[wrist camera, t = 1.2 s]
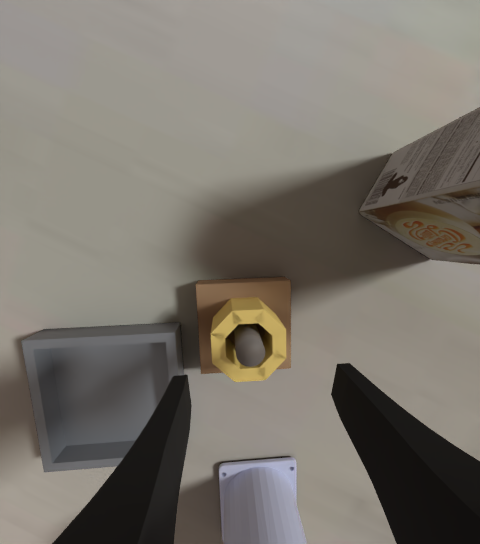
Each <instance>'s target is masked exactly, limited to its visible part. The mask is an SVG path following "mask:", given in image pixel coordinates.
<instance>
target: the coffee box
mask: <svg viewBox="0 0 480 544" xmlns="http://www.w3.org/2000/svg"><path fill="white" fill-rule="evenodd" d="M359 213H360V214H361V215H362V216H364V217H365V218H367V219H368V220H370V221H371V222H373V223H375V224H376V225H378V226H379V227H381V228H382V229H384V230H386V231H387V232H389V233H390V234H392V235H393V236H395V237H397V238H398V239H400V240H401V241H403V242H404V243H406V244H408V245H409V246H411V247H412V248H414V249H416V250H417V251H419V252H420V253H422V254H423V255H425V256H427V257H428V258H430V259H431V260H439V261H449V262H458V263H469V264H480V107H479V108H477V109H475V110H474V111H472V112H470V113H468V114H466V115H464V116H462V117H460V118H458V119H456V120H454V121H452V122H451V123H449V124H447V125H445V126H443V127H441V128H439V129H437V130H435V131H433V132H431V133H429V134H427V135H426V136H424V137H422V138H420V139H418V140H416V141H414V142H413V143H411V144H409V145H406V146H404V147H403V148H401V149H399V150H397V151H395V152H394V153H393V154H392V155H391V157H390V158H389V160H388V162H387V164H386V165H385V167H384V169H383V171H382V172H381V174H380V176H379V177H378V179H377V181H376V183H375V184H374V186H373V188H372V189H371V191H370V193H369V194H368V196H367V198H366V200H365V201H364V203H363V205H362V206H361V208H360V210H359Z"/></svg>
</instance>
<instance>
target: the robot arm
mask: <svg viewBox="0 0 480 544" xmlns="http://www.w3.org/2000/svg"><path fill="white" fill-rule="evenodd" d="M331 395H332V398H333V401H334V403H335V406H336V409H337V411H338V414H339V416H340V419H341V421H342V423H343V425H344V427H345V429H346V431H347V433H348V435H349V437H350V439H351V441H352V443H353V445H354V447H355V449H356V451H357V453H358V455H359V456H360V458H361V460H362V462H363V464H364V466H365V468H366V470H367V472H368V475H369V477H370V479H371V481H372V483H373V486H374V488H375V490H376V493H377V495H378V498H379V500H380V503H381V505H382V507H383V510H384V512H385V515H386V517H387V520H388V523H389V525H390V528H391V530H392V533H393V535H394V538H395V541H396V543H397V544H480V461H478V460H477V459H475V458H474V457H472V456H470V455H469V454H467V453H465V452H464V451H462V450H461V449H459V448H458V447H456V446H455V445H453V444H451V443H450V442H448V441H447V440H446V439H444V438H443V437H441V436H440V435H438V434H437V433H435V432H434V431H433V430H431V429H430V428H428V427H427V426H426V425H424V424H423V423H421V422H420V421H419V420H417V419H416V418H415V417H413V416H412V415H411V414H410V413H408V412H407V411H406V410H404V409H403V408H402V407H401V406H399V405H398V404H397V403H396V402H394V401H393V400H392V399H391V398H389V397H388V396H387V395H386V394H385V393H383V392H382V391H381V390H380V389H379V388H378V387H376V386H375V385H374V384H373V383H372V382H371V381H369V380H368V379H367V378H366V377H365V376H364V375H362V374H361V373H360V372H359V371H358V370H357V369H356V368H354V367H353V366H352V365H351V364H350V363H346V364H337V368H336V373H335V378H334V383H333V388H332V393H331ZM190 419H191V399H190V391H189V384H188V376H187V375H177V376H173V377H172V379H171V381H170V383H169V385H168V387H167V389H166V391H165V393H164V395H163V397H162V398H161V400H160V402H159V404H158V406H157V407H156V409H155V411H154V412H153V414H152V416H151V418H150V419H149V421H148V423H147V424H146V426H145V427H144V429H143V430H142V432H141V433H140V435H139V436H138V438H137V439H136V441H135V443H134V444H133V445H132V447H131V448H130V450H129V451H128V453H127V454H126V455H125V457H124V458H123V460H122V461H121V462H120V464H119V465H118V466H117V468H116V469H115V470H114V472H113V473H112V474H111V475H110V477H109V478H108V479H107V481H106V482H105V483H104V484H103V486H102V487H101V488H100V489H99V491H98V492H97V493H96V494H95V496H94V497H93V498H92V499H91V500H90V502H89V503H88V504H87V505H86V506H85V507H84V509H83V510H82V511H81V512H80V513H79V514H78V515H77V516H76V518H75V519H74V520H73V521H72V522H71V523H70V524H69V526H68V527H67V528H66V529H65V530H64V531H63V532H62V533H61V535H60V536H59V537H58V538H57V539H56V540H55V541H54V542H53V543H52V544H174V533H175V523H176V513H177V503H178V496H179V489H180V483H181V477H182V471H183V466H184V460H185V454H186V448H187V442H188V437H189V430H190ZM219 486H220V506H221V526H222V541H223V542H224V544H307V542H306V538H305V534H304V530H303V527H302V523H301V519H300V515H299V512H298V508H297V504H296V460H295V458H293V457H286V458H275V459H263V460H251V461H240V462H228V463H221V464H220V465H219Z"/></svg>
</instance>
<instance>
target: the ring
mask: <svg viewBox="0 0 480 544" xmlns="http://www.w3.org/2000/svg"><path fill="white" fill-rule="evenodd" d="M253 323H259V324H260V325H261V326H262V327H263V328H264V329H265V335H264V336H263V337H262V338H261V340H262V342H263V345H264V348H265V357H264V359H263V361H262V362H261V363H260V364H258V365H256V366H253V367H247V366H244V365H242V364H241V363H240V362H239V361H238V360H237V357H236V349H235V344H233V343H232V342H231V341H230V340H229V339H228V338H226V337H227V336H228V335H229V334H230V333H231V332H232V331H233V330H234V329H235V328H236V326H237V325H238V324H253ZM211 349H212V363H213V364H214V365H215V366H216V367H217V368H219V369H220V370H221V371H222V372H223V373H225V374H226V375H227V376H228V377H229V378H231V379H232V380H233V381H234V382H243V381H258V380H266V379H267V378H268V377H269V376H270V375H271V374H272V373H273V372H274V371H275V370H276V369H277V368H278V367H279V366H280V365H281V363H282V362H283V361H284V360H285V359H286V328H285V327H284V325H283V324H282V322H281V321H280V319H279V318H278V316H277V315H276V314H275V313H274V312H273V311H272V310H271V309H270V308H269V307H268V306H267V305H265V304H264V303H263V302H262V301H261V300H260V299H259V298H258V297H248V298H231V299H230V300H229V301H228V302H227V303H226V304H225V305H224V306H223V307H222V308H221V309H220V310H219V312H218V313H217V314H216V315H215V316H214V317H213V321H212V328H211Z"/></svg>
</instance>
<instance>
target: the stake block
mask: <svg viewBox="0 0 480 544" xmlns="http://www.w3.org/2000/svg"><path fill="white" fill-rule="evenodd" d="M196 297H197V313H198V330H199V347H200V364H201V374H208V373H223V372H222V371H221V370H220V369H219V368H217V367H216V366H215V365H214V364H213V363H212V349H211V328H212V321H213V317H214V316H215V315H216V314H217V313H218V312H219V310H220V309H221V308H222V307H223V306H224V305H225V304H226V303H227V302H228V301H229V300H230V299H231V298H248V297H258V298H259V299H260V300H261V301H262V302H263V303H264V304H265V305H267V306H268V307H269V308H270V309H271V310H272V311H273V312H274V313H275V314H276V315H277V316H278V318H279V319H280V321H281V322H282V324H283V325H284V327H285V328H286V359H285V360H284V361H283V362H282V363H281V365H280V366H279V367H278V368H277V369H286V368H291V281H290V280H289V279H287V278H286V277H268V278H244V279H220V280H198V282H197V284H196ZM264 335H265V329H264V328H263V327H262V326H261V325H260V324H259V323H253V324H238V325H237V326H236V328H235V329H234V330H233V331H232V332H231V333H230V334H229V335H228V336H227V337H226V338H228V339H229V340H230V341H231V342H232V343H233V344H235V349H236V357H237V360H238V361H239V362H240V363H241V364H242V365H244V366H247V367H253V366H256V365H258V364H260V363H261V362H262V361H263V359H264V357H265V348H264V345H263V342H262V340H261V338H262V337H263V336H264Z"/></svg>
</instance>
